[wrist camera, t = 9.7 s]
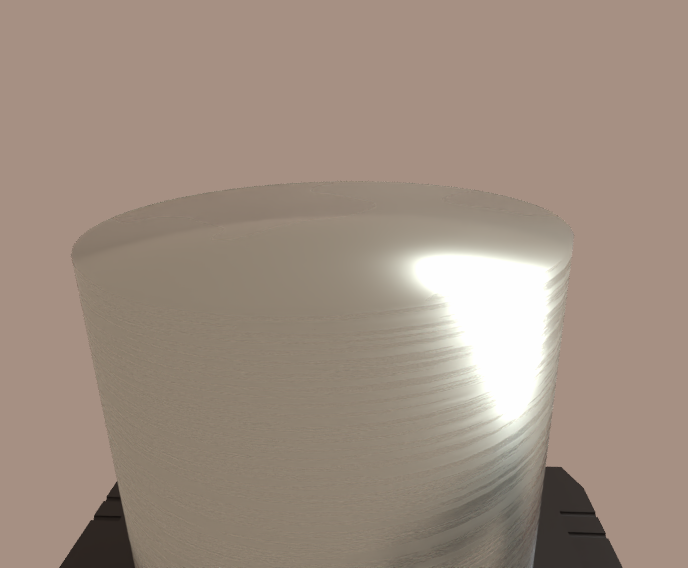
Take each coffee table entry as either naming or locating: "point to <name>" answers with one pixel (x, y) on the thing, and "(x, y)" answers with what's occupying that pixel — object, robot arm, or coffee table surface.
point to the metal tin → (328, 373)
